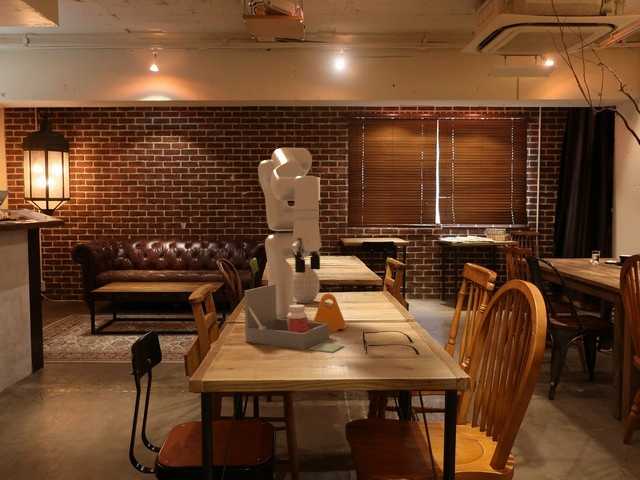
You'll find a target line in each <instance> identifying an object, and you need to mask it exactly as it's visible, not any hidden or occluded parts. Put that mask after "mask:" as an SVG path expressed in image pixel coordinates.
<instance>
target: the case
mask: <svg viewBox="0 0 640 480" xmlns="http://www.w3.org/2000/svg"><path fill="white" fill-rule="evenodd" d="M243 291H244V292H243V293H244V325H245V326H244V329H245V330H244V331H245V333H244V334H245V343H250V342H252V344H258V343H259V344H260V345H266V344H267V345H266V346H273V345H274V346H275V347H283V348H291V349H298V350H306V349H309V348H311V347H313V346H316V344H317V345H318V344H320V343H322V342H323V341H326V340H327V339H329V338H330V331H329V323H319V322H313V321H309V320H307V331H306V332H303V333H298V332H289V331H288V330H287V318H284V319H279V318H276V284H271V285H268V284H267V285H264V286H260V287H256V288H251V289H247V290H243ZM274 346H273V347H274Z"/></svg>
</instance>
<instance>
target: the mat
mask: <svg viewBox="0 0 640 480" xmlns="http://www.w3.org/2000/svg"><path fill="white" fill-rule="evenodd" d="M344 347H345V345H344V344H342V345H341V344H334V343H327V342H319V343H317V345H316V344H315V345H313V346H311V347H309V351H316V352H323V353H330V354H331V353H332V354H333V353H334V352H337V351H339V350H341V349H343V348H344Z"/></svg>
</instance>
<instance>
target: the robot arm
mask: <svg viewBox="0 0 640 480" xmlns="http://www.w3.org/2000/svg"><path fill="white" fill-rule="evenodd" d="M312 157H313V156H312V155H311V152H310V151H309V150H308V149H307V148H305V147H280V148H277V149H275V150H274V151H273V153H272V154H271V159H266V160H262V161H261V162H260V163H259V164H258V169H257V170H258V172H257V174H258V180H259V183H260V186H261V187H260V188H261V190H262V191H263V194H264V199H265V200H264V201H265V209H266V210H265V213H266V223H267V226H268V228H269V230H271V231H275V232H276V231H277V232H280V231H281V232H282V231H283V232H284V231H285V232H284V233H275V234H274V233H273V234H271V235H268V236H267V237H266V238H265V242H264V248H265V254H266V260H267V281H268V284H267V285H271V284H276V318H279V319H287V315H288V313H290V310H289V306H290V305H295V304H294V297H293V273H294V272H296V273H305V264H306V259H305V258H307V257H308V256H309V255H310V257H309V258H310V262H309V263H310V265H309V266H310V267H311V269H313V270H321V252H322V244H323V243H322V241H321V235H320V225H319V220H320V208H319V207H320V206H319V205H320V202H319V179H318V178H317V177H316V176H314V175H308V173H309V171H310V170H311V168H312V163H313V159H312ZM288 201H289V202H290V201H294V205H289V204H288ZM286 231H291V233H286ZM292 231H293V232H292ZM287 259H294V264H295V265H294V266H295V267H294V269H295V271H294V270H293V267H292V265H290V263H289V262H288V261H287Z"/></svg>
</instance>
